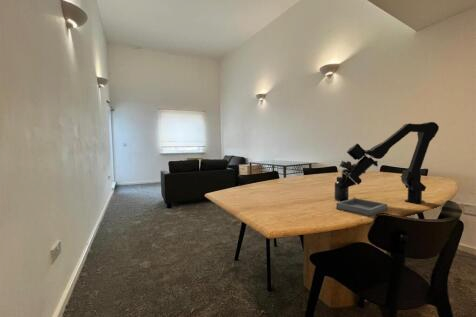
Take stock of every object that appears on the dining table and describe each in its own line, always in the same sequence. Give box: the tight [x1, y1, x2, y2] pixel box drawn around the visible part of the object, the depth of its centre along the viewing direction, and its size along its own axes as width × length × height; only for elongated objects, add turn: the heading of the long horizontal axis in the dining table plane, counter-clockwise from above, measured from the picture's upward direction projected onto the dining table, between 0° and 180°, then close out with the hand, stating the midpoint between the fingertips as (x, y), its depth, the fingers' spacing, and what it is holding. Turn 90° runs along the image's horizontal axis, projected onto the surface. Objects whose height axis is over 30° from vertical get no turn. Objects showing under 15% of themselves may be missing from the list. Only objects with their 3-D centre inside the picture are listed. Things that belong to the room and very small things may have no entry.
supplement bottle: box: [334, 176, 350, 202], centre depth 128 cm, size 7×7×12 cm
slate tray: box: [335, 197, 388, 218], centre depth 110 cm, size 15×15×3 cm
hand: (338, 187), depth 129 cm, fingers open, 7 cm apart
